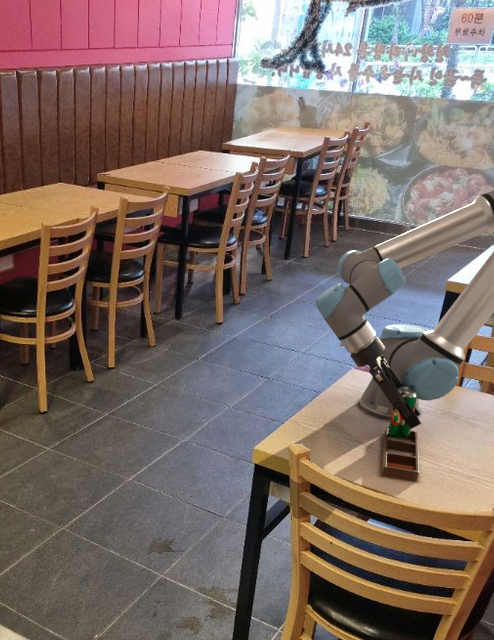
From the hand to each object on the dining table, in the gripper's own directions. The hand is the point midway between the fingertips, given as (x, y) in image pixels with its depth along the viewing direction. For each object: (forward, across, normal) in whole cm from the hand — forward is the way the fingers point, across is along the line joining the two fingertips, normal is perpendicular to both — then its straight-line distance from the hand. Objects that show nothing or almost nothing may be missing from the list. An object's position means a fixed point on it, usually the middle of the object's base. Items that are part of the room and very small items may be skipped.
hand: (415, 421), depth 180 cm
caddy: (+4, +6, -7) cm, 10 cm away
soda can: (+1, 0, -5) cm, 5 cm away
